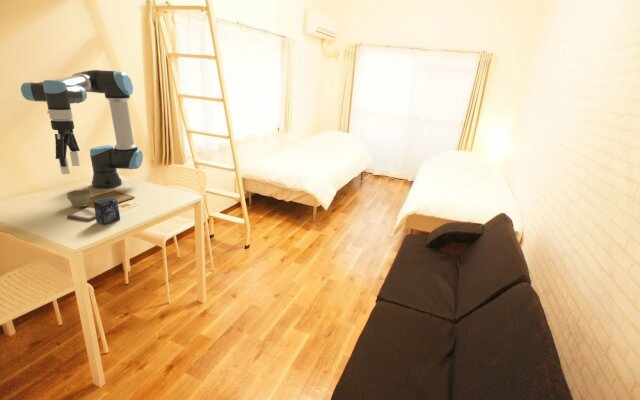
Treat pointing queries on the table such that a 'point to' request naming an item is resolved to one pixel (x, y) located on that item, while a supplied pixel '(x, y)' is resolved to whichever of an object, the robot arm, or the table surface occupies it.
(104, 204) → the box
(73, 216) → the board
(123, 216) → the table surface
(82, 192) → the flower pot
